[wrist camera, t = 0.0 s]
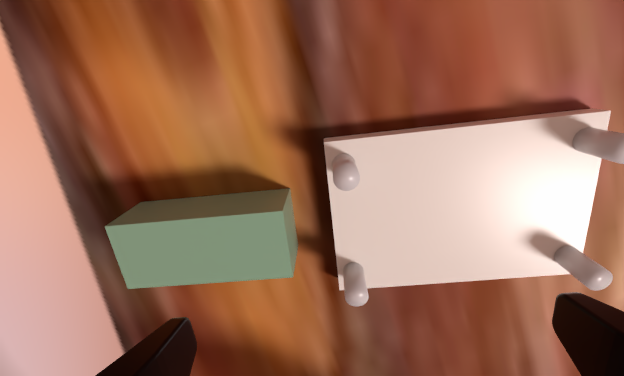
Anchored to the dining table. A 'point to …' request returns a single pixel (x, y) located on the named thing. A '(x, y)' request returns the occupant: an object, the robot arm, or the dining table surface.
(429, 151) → the plate
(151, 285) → the green board
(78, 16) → the dining table surface
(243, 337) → the dining table surface
